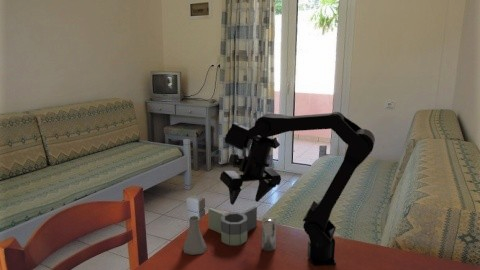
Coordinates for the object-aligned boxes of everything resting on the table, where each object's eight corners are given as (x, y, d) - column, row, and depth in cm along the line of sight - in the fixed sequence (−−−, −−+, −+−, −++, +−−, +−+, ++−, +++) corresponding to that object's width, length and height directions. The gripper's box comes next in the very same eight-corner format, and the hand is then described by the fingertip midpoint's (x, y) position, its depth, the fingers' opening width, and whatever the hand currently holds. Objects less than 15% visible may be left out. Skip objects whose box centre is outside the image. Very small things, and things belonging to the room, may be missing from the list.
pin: (274, 243, 108) (274, 216, 106) (276, 250, 104) (277, 222, 102) (261, 244, 108) (261, 217, 105) (263, 251, 104) (263, 223, 102)
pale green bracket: (252, 237, 111) (252, 217, 110) (235, 248, 105) (235, 226, 104) (218, 223, 121) (218, 204, 119) (201, 232, 115) (200, 212, 113)
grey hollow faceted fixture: (235, 248, 105) (235, 226, 104) (216, 239, 110) (215, 218, 109) (265, 229, 116) (265, 210, 115) (246, 222, 121) (246, 203, 120)
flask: (205, 255, 102) (204, 224, 99) (180, 255, 102) (179, 223, 99) (208, 242, 109) (207, 212, 106) (184, 242, 109) (183, 212, 106)
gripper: (266, 144, 112) (254, 186, 118) (217, 144, 102) (205, 190, 107) (288, 160, 104) (273, 205, 109) (237, 162, 93) (223, 211, 98)
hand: (244, 202), depth 106 cm, fingers open, 9 cm apart
